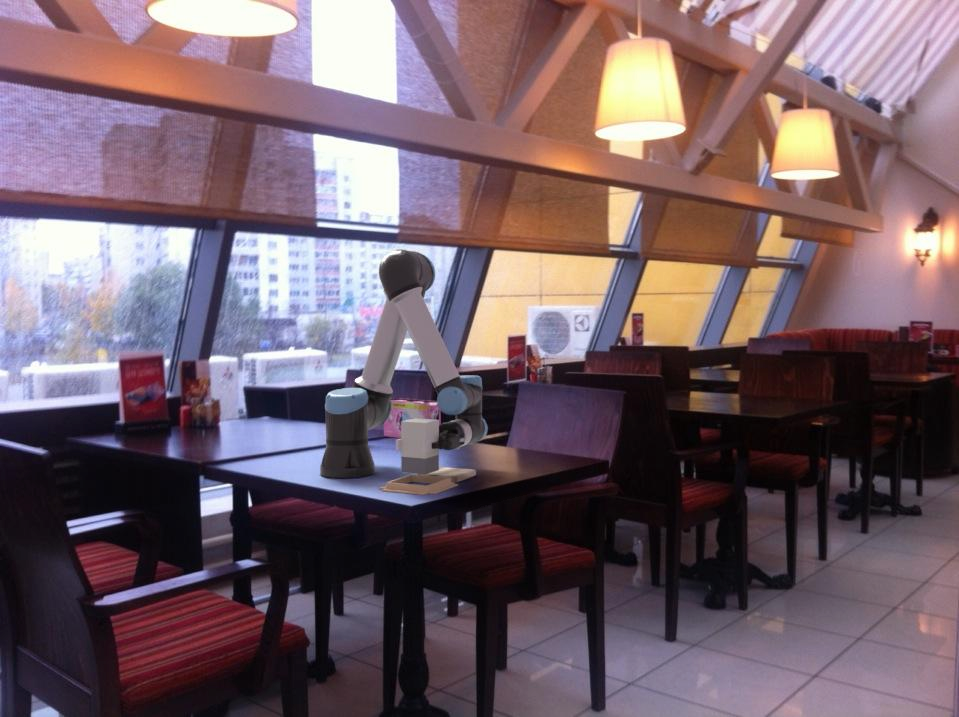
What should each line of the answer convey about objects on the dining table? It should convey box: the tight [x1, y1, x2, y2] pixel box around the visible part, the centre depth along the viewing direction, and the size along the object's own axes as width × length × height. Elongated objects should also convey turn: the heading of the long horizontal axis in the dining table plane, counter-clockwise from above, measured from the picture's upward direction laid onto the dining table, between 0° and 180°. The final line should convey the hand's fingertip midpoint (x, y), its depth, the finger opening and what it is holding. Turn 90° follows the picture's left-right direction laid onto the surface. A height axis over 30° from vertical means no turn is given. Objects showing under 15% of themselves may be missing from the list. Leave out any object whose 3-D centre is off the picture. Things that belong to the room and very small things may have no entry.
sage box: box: [400, 418, 440, 475], centre depth 226 cm, size 7×7×13 cm
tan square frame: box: [378, 474, 459, 496], centre depth 227 cm, size 16×16×2 cm
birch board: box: [417, 466, 477, 483], centre depth 240 cm, size 12×11×2 cm
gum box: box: [383, 397, 442, 439], centre depth 317 cm, size 24×8×14 cm, turn 47°
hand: (410, 446), depth 221 cm, fingers closed on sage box, 7 cm apart
